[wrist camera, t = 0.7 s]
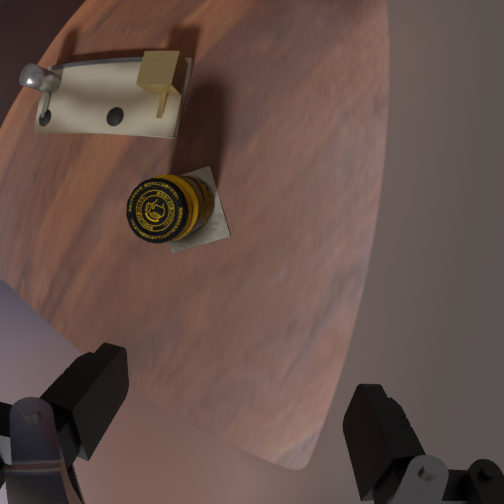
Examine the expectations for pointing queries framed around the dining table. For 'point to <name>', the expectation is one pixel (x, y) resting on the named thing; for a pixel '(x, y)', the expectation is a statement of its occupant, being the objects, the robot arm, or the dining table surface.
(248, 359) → the dining table surface
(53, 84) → the silver cylinder with leg
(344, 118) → the dining table surface
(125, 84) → the board
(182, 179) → the condiment
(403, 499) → the robot arm
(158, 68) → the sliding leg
